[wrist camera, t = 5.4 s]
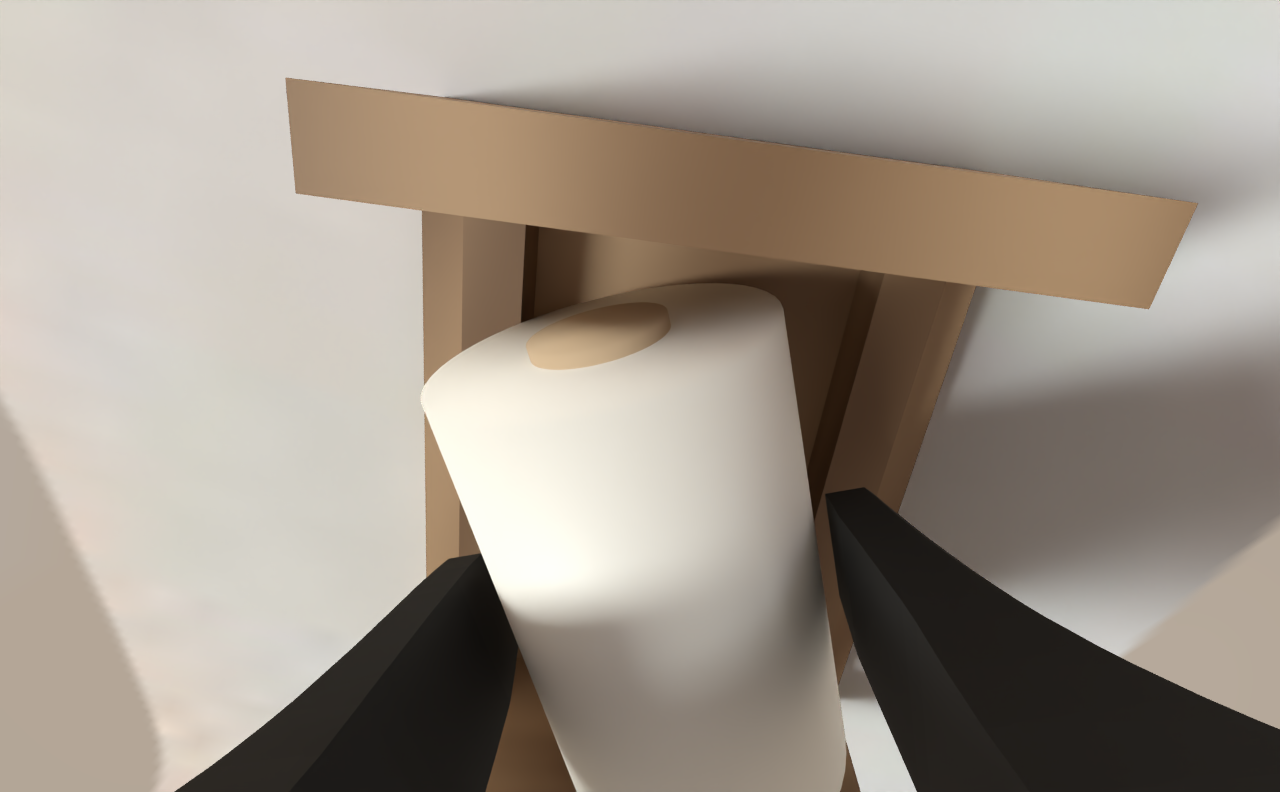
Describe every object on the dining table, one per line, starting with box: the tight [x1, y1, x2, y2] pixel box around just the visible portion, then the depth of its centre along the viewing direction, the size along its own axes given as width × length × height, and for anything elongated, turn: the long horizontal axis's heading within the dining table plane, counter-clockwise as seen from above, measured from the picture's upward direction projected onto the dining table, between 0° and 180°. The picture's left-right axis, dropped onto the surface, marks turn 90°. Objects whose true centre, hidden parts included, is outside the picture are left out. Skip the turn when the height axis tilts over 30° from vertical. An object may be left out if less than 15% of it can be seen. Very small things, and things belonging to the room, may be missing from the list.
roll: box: [421, 283, 846, 792], centre depth 10 cm, size 5×8×5 cm, turn 13°
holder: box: [286, 78, 1198, 792], centre depth 12 cm, size 10×13×5 cm
